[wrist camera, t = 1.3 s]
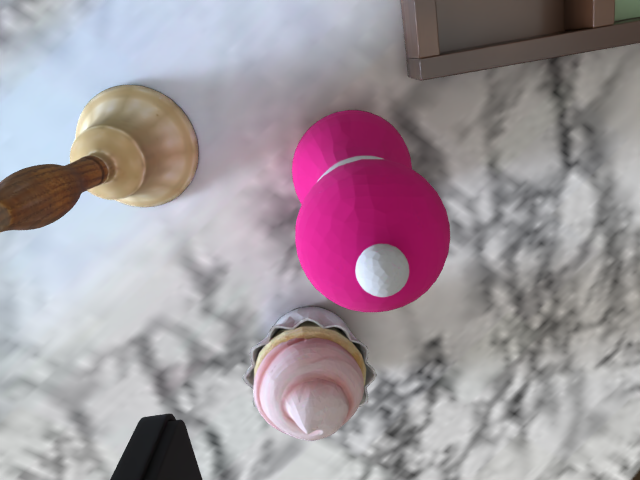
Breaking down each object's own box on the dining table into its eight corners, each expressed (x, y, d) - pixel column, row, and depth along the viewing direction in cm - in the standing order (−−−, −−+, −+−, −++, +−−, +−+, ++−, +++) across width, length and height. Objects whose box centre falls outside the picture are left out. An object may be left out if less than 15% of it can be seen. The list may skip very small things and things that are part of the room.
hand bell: (66, 183, 35) (-121, 281, 20) (89, 65, 32) (-108, 76, 17) (182, 221, 36) (86, 341, 21) (213, 110, 33) (129, 157, 18)
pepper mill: (301, 212, 36) (286, 387, 17) (288, 109, 33) (254, 182, 15) (401, 202, 36) (498, 367, 17) (396, 97, 33) (503, 155, 14)
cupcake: (231, 361, 40) (206, 455, 31) (284, 267, 37) (274, 339, 28) (333, 406, 42) (338, 508, 32) (391, 319, 39) (415, 404, 30)
